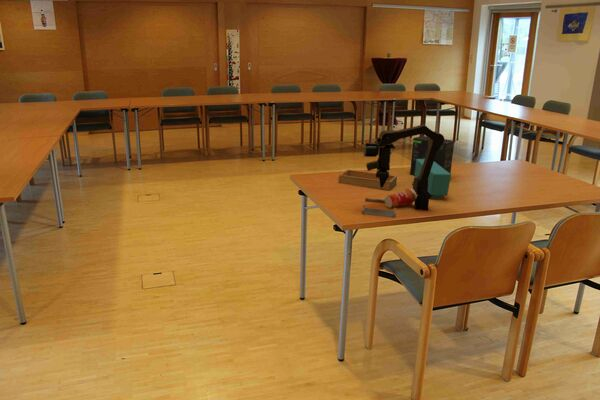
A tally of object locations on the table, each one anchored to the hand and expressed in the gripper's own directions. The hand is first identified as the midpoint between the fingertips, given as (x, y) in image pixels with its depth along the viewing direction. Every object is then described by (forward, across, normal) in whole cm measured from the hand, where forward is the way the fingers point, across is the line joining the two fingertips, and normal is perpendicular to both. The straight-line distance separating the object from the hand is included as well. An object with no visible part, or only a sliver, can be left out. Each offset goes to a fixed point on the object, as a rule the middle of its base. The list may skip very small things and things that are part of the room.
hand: (381, 187), depth 259 cm
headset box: (+11, -72, +28) cm, 78 cm away
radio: (+11, -39, +27) cm, 49 cm away
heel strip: (+11, -9, 0) cm, 14 cm away
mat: (+11, +8, 0) cm, 13 cm away
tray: (+12, -43, -9) cm, 46 cm away
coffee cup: (+8, -2, +4) cm, 9 cm away
